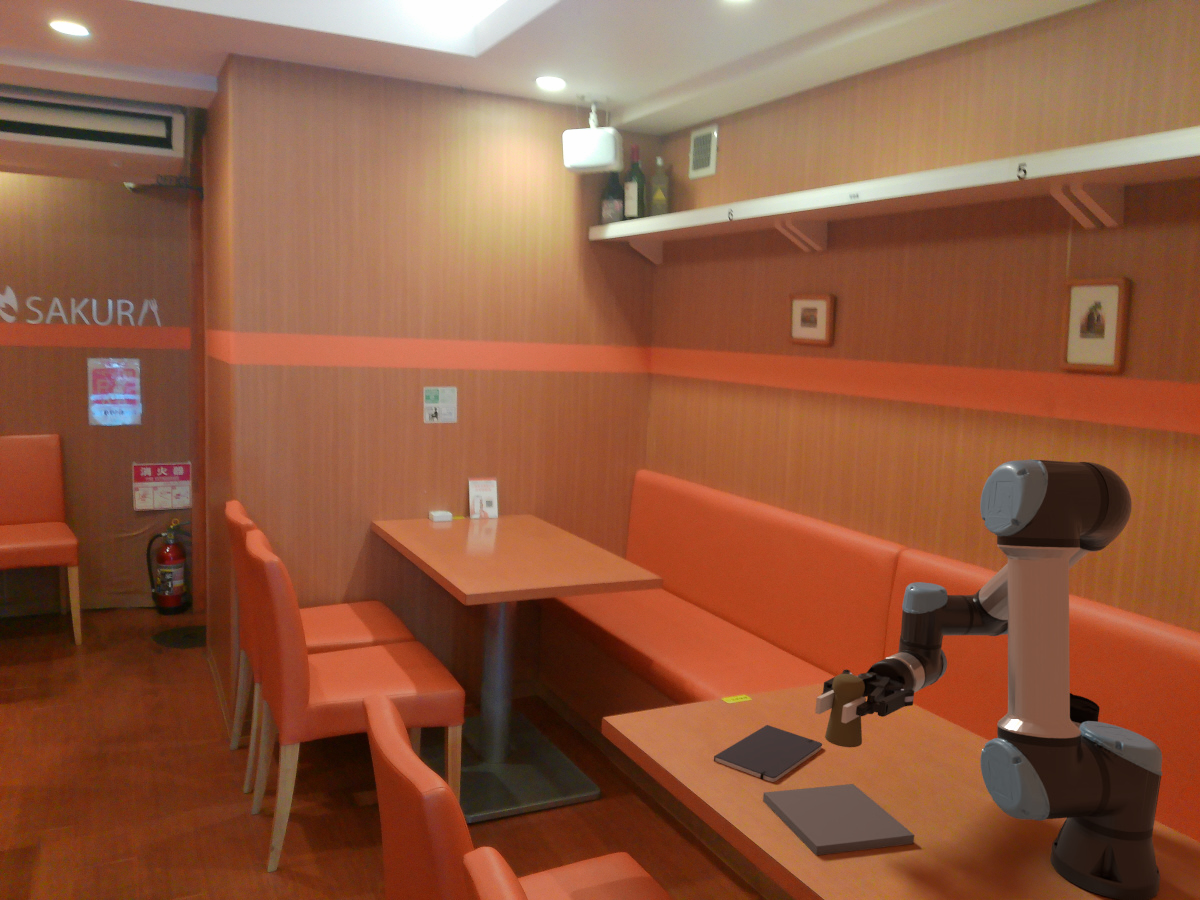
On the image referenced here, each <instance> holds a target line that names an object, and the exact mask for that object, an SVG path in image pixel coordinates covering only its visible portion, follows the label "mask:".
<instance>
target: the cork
mask: <svg viewBox="0 0 1200 900" xmlns="http://www.w3.org/2000/svg"><path fill="white" fill-rule="evenodd" d="M834 677H835V678H834ZM834 677H833V678H834V681H833V685H832V687H833V691H834V693H835V697H834V701H833V705H832V708H831V709H830V714H829V718H828V723H827V727H826V731H825V735H824V738H825V741H827V742H828V743H830V744H832V745H835V746H837V747H838V746H839V747H842V748H857V747H859V746H861V745H862V743H863V735H862V734H863V733H862V716H859V717H857V718H855V719H853V720H851V721H849V722H848V723H846V724H845V723H842V722H841V720H842V710H843V706H844V705H846V704H848V703H850V702H852V701H854V700H856V699H859V698H861V697H862V696H863V693H864V690H865V685H864V682H863V680H862V679H861V678H859V677H858V675H854V674H852V675H851V674H841V673H839V674H837V675H836V676H834Z"/></svg>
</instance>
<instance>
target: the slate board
mask: <svg viewBox="0 0 1200 900" xmlns="http://www.w3.org/2000/svg"><path fill="white" fill-rule="evenodd" d="M762 801H763V802H764V804H765V805H766V806H768V807H769V808H770V810H772V811H773V813H774V814H775V815H776V816H777V817H779V819H780V820H781V821H782V822H783V823H784V824H785V825H786V826H787V827H788V828H789V829H790V830H791V831H792V832H793V833H794V834H795V835H796V836H797V838H798V839H799V840H801V842H803V844H804V845H805V846H806V847H808V849H810V851H811V852H812V853H813V854H814V855H815V856H822V855H823V856H824V855H829V854H830V855H831V854H839V853H840V854H841V853H848V852H855V851H863V850H864V851H865V850H870V849H880V848H887V847H896V846H905V845H912V844H914V841H915V834H914V833H912V832H911V831H910V830H909V829H908V828H907V827H905V826H904V825H903V824H902V823H901V822H900V821H898V820H897V819H896V818H895V817H893V816H892V815H891V814H890V813H889V812H888V811H886V810H885V809H884V808H882V807H881V805H879V804H878V803H877V802H876V801H874V800H873V799H872V798H871V797H870V796H869V795H867V794H866V793H865V792H864V791H862V790H861V789H860V788H859V787H857V786H856V785H855V784H854V783H849V784H838V785H829V786H827V785H826V786H818V787H807V788H795V789H785V790H777V791H775V790H774V791H765V792H763V797H762Z"/></svg>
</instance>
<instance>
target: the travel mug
mask: <svg viewBox="0 0 1200 900" xmlns="http://www.w3.org/2000/svg"><path fill="white" fill-rule="evenodd" d="M1100 708H1101V707H1100V706H1099V705H1098V703H1096V702H1094V701H1093V700H1092V699H1089V698H1087V697H1084V696H1081V695H1077V694H1073V693H1071V692H1070V719H1071V721H1072V722H1073V723H1074V724H1075V725H1076V726H1077V727H1078V728H1080V725H1081V724H1082V723H1083V722H1086V721H1096V722H1099V717H1100Z"/></svg>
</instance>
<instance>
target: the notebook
mask: <svg viewBox="0 0 1200 900" xmlns="http://www.w3.org/2000/svg"><path fill="white" fill-rule="evenodd" d="M822 746H823V743H822V742H821V741H817V740H814V739H810V738H808V737H806V736H805V737H804V736H802V735H799V734H796V733H792V732H789V731H786V730H784V729H781V728H777V727H776V726H775V727H774V726H771V725H769V724H767V725H765V726H762V727H761V728H759V729H758V730H756V731H754V732H753V733H751V734H750V735H748V736H745V737H744V738H742V739H741V740H738V741H737V742H735V743H734V744H732V745H731V746H729V747H727V748H726V749H723V750H722V751H720V752H718V753H717V754H716V755H714V757H713V762H715V763H716V762H717V763H720V764H722V765H724V766H727V767H730V768H732V769H735V770H738V771H739V772H740V771H741V772H744V773H746V774H749V775H751V776H753V777H756V778H759V779H761V780H764V781H767V782H770V783H771V782H772V783H775V782H777V781H778V780H780V779H781V778H782V777H784V776H785V775H787V774H788V773H790V772H791V771H793V770H794V769H795V768H797V767H798V766H800V765H801V764H802V763H804V762H805V761H807V760H808V759H810V758H811V757H813V755H815V754H816V753H818V752H820V751H821V749H822Z"/></svg>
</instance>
